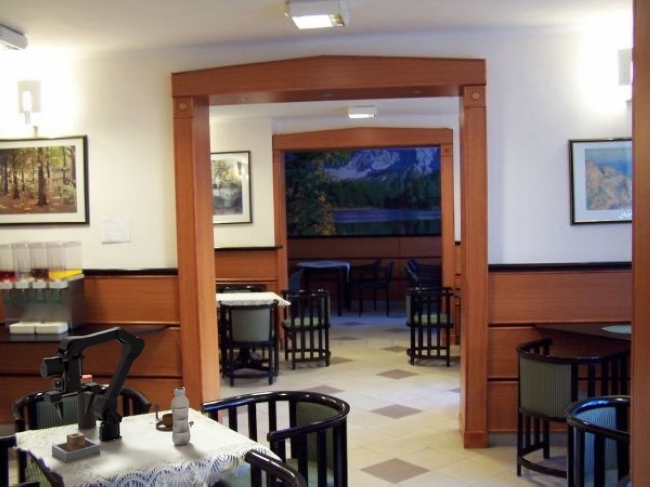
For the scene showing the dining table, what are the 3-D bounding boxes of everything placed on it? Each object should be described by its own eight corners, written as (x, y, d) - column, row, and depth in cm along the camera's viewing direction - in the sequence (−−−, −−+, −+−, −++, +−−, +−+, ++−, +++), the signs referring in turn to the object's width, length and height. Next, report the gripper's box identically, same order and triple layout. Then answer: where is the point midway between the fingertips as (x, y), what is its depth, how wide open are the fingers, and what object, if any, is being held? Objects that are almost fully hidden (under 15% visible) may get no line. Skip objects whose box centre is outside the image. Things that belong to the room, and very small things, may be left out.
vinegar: (89, 423, 274) (87, 373, 273) (100, 425, 270) (98, 375, 269) (74, 427, 268) (72, 377, 267) (85, 430, 264) (83, 379, 264)
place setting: (145, 433, 261) (145, 418, 261) (152, 418, 281) (151, 404, 280) (192, 431, 263) (192, 415, 263) (195, 415, 283) (195, 401, 282)
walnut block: (79, 448, 242) (79, 431, 241) (85, 451, 238) (84, 434, 238) (67, 452, 239) (66, 434, 238) (72, 455, 235) (71, 437, 235)
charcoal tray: (85, 445, 247) (85, 437, 247) (100, 453, 238) (100, 445, 238) (52, 453, 239) (51, 445, 239) (66, 462, 230) (65, 453, 230)
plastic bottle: (194, 442, 248) (192, 387, 247) (183, 448, 242) (181, 392, 241) (179, 440, 251) (178, 385, 250) (168, 445, 245) (166, 390, 244)
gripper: (86, 364, 256) (88, 406, 256) (36, 374, 242) (38, 418, 243) (100, 369, 248) (102, 411, 249) (50, 379, 234) (52, 424, 235)
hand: (74, 416), depth 244 cm, fingers open, 9 cm apart
